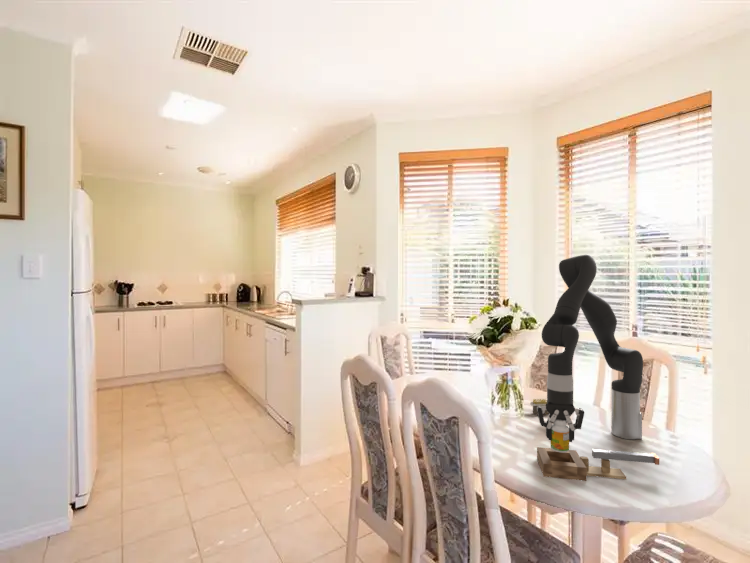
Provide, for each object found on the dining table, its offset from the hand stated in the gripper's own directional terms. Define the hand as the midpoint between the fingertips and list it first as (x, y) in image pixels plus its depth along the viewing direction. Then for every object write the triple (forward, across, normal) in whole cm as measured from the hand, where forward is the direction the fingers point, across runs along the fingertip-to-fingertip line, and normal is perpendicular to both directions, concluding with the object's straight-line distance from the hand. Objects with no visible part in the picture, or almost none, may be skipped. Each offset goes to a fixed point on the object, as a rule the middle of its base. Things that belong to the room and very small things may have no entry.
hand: (559, 439), depth 127 cm
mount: (+9, +12, 0) cm, 15 cm away
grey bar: (+4, +18, 0) cm, 19 cm away
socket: (+9, 0, 0) cm, 9 cm away
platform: (+10, +3, +52) cm, 54 cm away
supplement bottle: (+3, 0, 0) cm, 3 cm away
